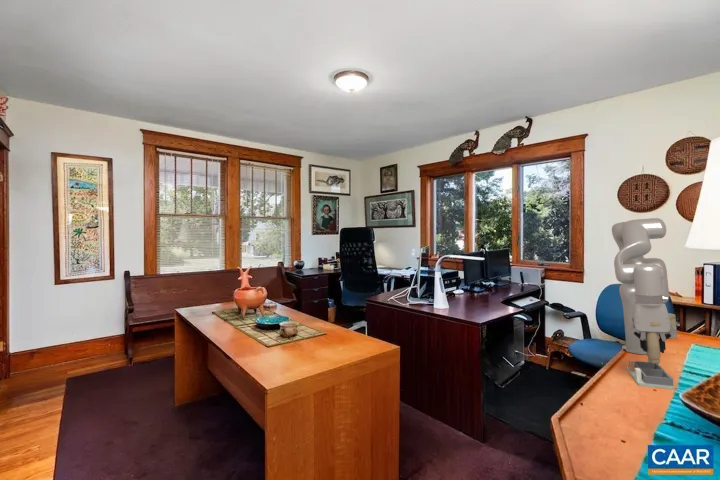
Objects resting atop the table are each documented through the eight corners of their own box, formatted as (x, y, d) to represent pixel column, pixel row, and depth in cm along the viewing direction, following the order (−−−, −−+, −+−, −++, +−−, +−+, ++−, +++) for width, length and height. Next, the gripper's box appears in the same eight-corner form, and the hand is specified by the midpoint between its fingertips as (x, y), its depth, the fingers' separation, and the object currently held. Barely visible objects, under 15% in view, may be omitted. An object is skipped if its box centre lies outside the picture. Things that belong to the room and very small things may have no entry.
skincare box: (663, 338, 175) (661, 314, 176) (657, 336, 180) (655, 313, 180) (677, 338, 174) (675, 314, 175) (671, 336, 179) (669, 312, 179)
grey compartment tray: (626, 369, 137) (625, 357, 138) (657, 371, 133) (656, 360, 133) (638, 385, 121) (637, 372, 122) (674, 389, 117) (672, 376, 117)
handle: (643, 359, 127) (640, 318, 127) (667, 362, 122) (663, 320, 123) (641, 362, 124) (637, 320, 124) (664, 366, 119) (661, 322, 119)
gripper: (675, 298, 123) (679, 350, 123) (618, 298, 131) (621, 346, 130) (683, 301, 117) (688, 356, 116) (622, 301, 124) (626, 352, 124)
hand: (653, 350), depth 123 cm, fingers closed on handle, 4 cm apart
